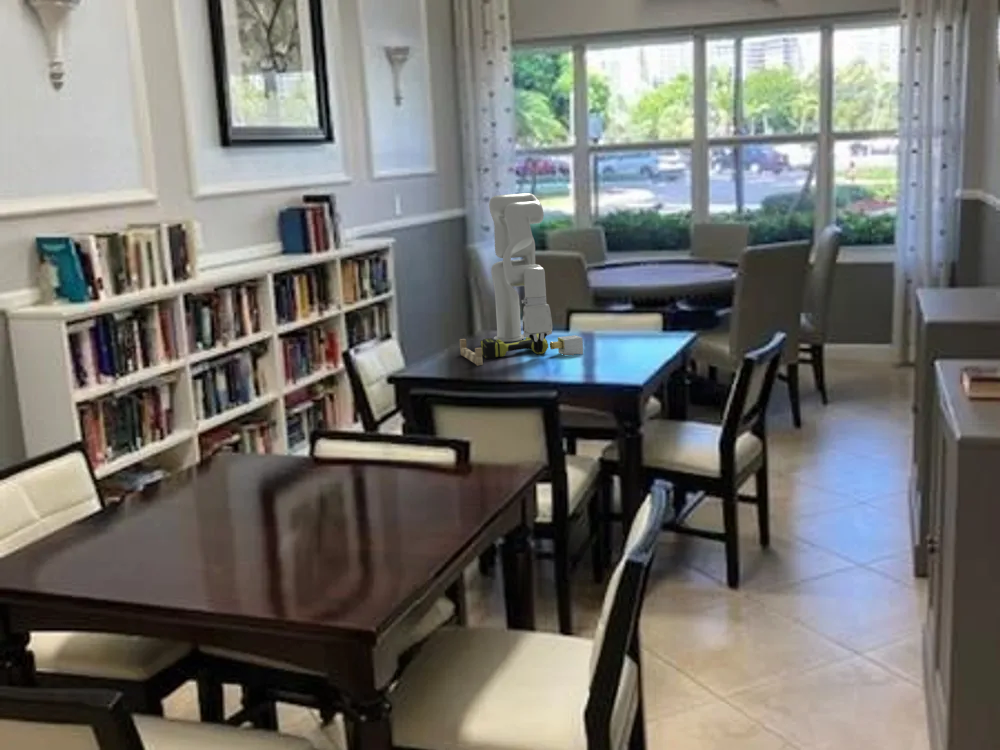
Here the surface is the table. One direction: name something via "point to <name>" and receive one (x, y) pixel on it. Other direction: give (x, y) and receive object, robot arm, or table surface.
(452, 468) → the table surface
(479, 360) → the rail
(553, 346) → the brass capped square peg
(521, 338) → the robot arm
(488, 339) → the cordless drill
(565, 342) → the socket block
